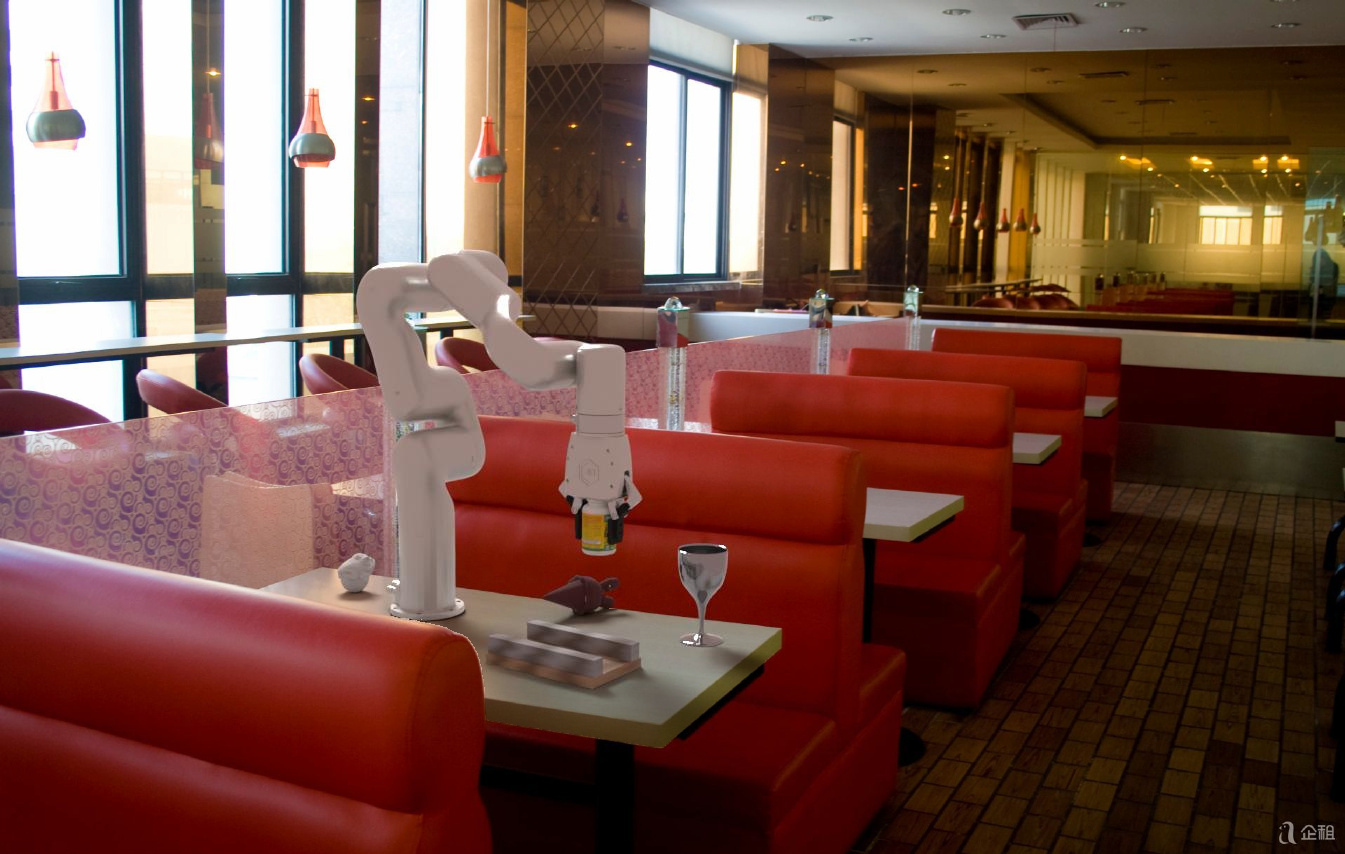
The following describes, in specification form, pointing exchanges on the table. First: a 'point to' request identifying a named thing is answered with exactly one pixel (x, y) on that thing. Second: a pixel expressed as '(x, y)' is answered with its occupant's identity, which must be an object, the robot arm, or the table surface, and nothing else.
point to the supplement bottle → (596, 528)
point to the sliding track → (565, 654)
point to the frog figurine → (356, 572)
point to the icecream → (584, 594)
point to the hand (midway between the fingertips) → (598, 539)
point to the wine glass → (702, 583)
